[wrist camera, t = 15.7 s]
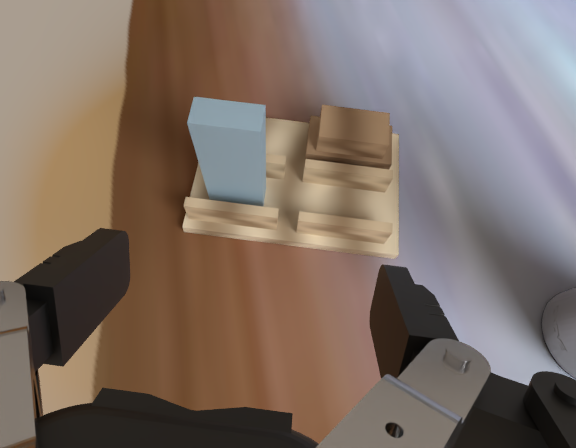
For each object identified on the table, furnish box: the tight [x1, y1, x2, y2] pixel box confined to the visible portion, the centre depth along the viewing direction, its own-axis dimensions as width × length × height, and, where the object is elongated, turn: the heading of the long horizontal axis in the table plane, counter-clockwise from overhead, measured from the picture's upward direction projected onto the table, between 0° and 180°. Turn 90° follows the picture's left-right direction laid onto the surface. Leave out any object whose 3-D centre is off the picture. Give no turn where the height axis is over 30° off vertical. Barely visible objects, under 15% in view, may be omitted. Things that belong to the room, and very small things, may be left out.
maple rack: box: [182, 118, 399, 259], centre depth 42 cm, size 22×15×4 cm
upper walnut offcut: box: [316, 105, 390, 159], centre depth 41 cm, size 7×4×2 cm, turn 83°
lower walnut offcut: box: [304, 116, 392, 169], centre depth 43 cm, size 9×5×2 cm, turn 83°
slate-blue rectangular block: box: [187, 97, 266, 207], centre depth 35 cm, size 6×2×13 cm, turn 84°
